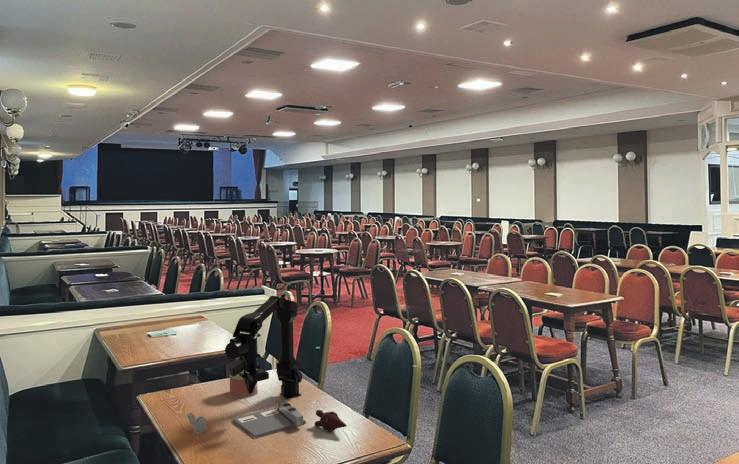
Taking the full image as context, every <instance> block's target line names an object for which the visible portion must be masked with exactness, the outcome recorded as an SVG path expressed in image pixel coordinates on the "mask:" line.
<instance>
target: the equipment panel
mask: <svg viewBox="0 0 739 464" xmlns="http://www.w3.org/2000/svg"><path fill="white" fill-rule="evenodd" d="M231 421H232V423H234V424H235V425H236V426H238V427H239V426H240V427H239V428H240V429H242V430H243V429H244V430H243V431H244V432H246V431H247V432H248V434H249V435H250V434H251V435H252V436H251V435H250V436H251V437H253V438H254V437H255V438H254V439H258V438H260V436H262V437H265V436H268V435H271V434H275V433H279V432H281V431H285V430H289V429H292V428H295V427H298V426H302V425H305V424H306V423H307V421H306V420H305V419H304V418H303V424H301V425H296V424H294V423H293V422H292V421H291V420H290V419H289V418H288V417H287V416H285V415H284V414H283V413H282V412H281V411H280V410H278V406H276V407H271V408H268V409H263V410H260V411H256V412H252V413H248V414H244V415H242V416H236V417H234V418H232V419H231ZM247 432H246V433H247ZM264 435H265V436H264ZM257 437H258V438H257Z"/></svg>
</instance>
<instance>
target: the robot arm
mask: <svg viewBox="0 0 739 464" xmlns="http://www.w3.org/2000/svg"><path fill="white" fill-rule="evenodd" d="M298 307H299V306H298V304H297V302H296V301H294V300H289V299H287V298H285V297H282V296H280V295H279V296H278V295H270V296H269V297H268V299H267V300H266V301H265V302H264V303H262V305H260V306H259V307H257V309H255V310H254V311H252V312H249V313H246V314H244V315H243V316H241V317H240V318H239V319H238V321H237V323H236V326H235V329H234V331H233V333H232V338H230V339H229V343H227V344H226V346H225V348H224V353H225V355H226V357H227V358H228V359H230V360H232V362H229V363H228V364H226V365H225V369H226V372H227V374H228V375H229V376H230V375H231V376H232V377H234V376H236V375H237V374H239V373H240V374H239V375H240V376H241V377H242V378H243V379H244V381H245V384H246V387H247V391H248V393H249V394H251V393H252V392H253V390H254V388H255V386H256V383H257V384H258V382H262V381H265V380H269V379H270V373H269V372H268V371H267V370H265V369H263V368H261V364H259V362H258V360H259V359H258V358H260V356H261V354H260V353H258V338H260V337H261V334H260V333H259V332H260V330H261V329H262V327H263V323H264V321H265V320H267V319H268V318H269V317H270V316H271V315H272V314H273V313H274V312H275V313H276V318H277V320H278V321H279V323H280V350H281V351H280V357H281V358H280V360H279V361H278V362H276V376H277V380H278V381H279V382H280V381H281V385H280V393H279V395H280V396H281V397H283V398H285V399H287V400H289V399H293V398H296V397H301V396H302V394H301V393H300V383H301V382H302V381H303V376H304V374H303V373H302V372H301V371H300V369H299V365H298V364H299V363H298V361H297V360H296V358H295V355H294V353H295V352H294V321H295V320H296V317H297V316H298V309H299V308H298Z"/></svg>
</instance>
